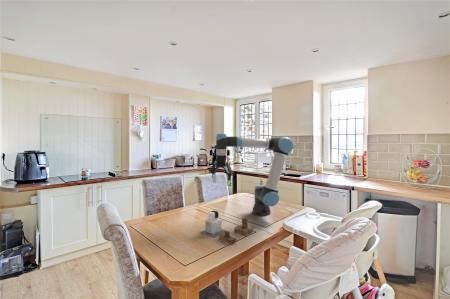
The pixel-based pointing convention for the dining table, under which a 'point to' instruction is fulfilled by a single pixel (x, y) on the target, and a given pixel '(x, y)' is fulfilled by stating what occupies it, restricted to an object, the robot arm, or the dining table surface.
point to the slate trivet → (213, 234)
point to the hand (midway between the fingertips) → (221, 183)
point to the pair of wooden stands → (239, 229)
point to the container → (213, 223)
